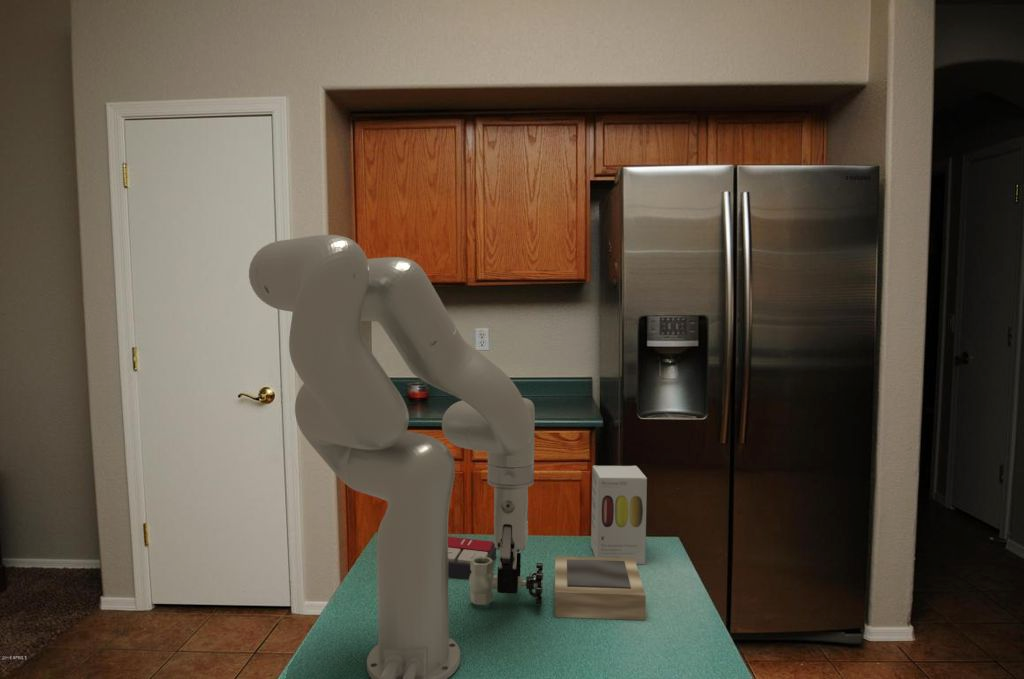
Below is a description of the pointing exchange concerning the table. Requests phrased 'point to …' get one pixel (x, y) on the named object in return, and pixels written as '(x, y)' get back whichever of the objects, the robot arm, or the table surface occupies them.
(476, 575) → the valve
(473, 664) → the table surface
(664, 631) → the table surface
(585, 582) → the tapered tan tray
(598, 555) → the supplement box
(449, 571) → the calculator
